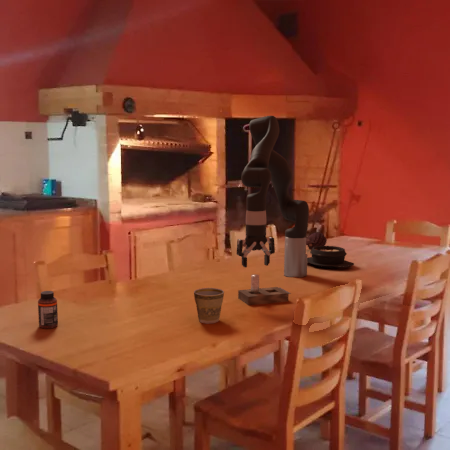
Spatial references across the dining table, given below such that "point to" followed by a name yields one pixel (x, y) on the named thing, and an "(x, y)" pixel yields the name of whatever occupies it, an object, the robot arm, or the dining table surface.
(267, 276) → the dining table surface
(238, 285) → the dining table surface
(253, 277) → the pin
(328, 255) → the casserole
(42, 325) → the supplement bottle
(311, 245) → the pine cone
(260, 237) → the robot arm
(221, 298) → the ceramic cup
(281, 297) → the socket block
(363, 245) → the dining table surface
